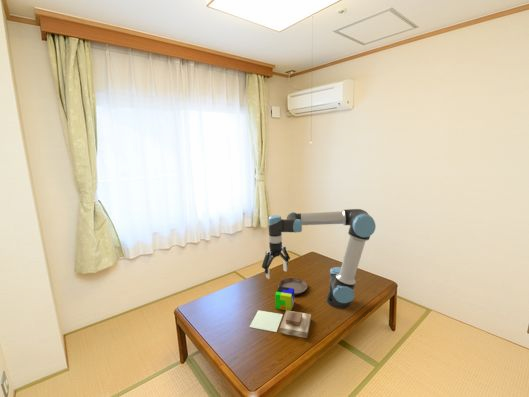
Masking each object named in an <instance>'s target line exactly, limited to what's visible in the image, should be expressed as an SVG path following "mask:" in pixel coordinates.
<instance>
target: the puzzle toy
mask: <svg viewBox="0 0 529 397" xmlns="http://www.w3.org/2000/svg"><path fill="white" fill-rule="evenodd" d="M274 302H275V303H274V304H275V305H274V306H275V309H276V310H282V311H286V310H287V311H292V309H293V307H294V304H295V295H294V289H293V288H287V287H280V286H278V288H277V291H276V292H275V294H274Z"/></svg>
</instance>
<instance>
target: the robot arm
mask: <svg viewBox="0 0 529 397" xmlns="http://www.w3.org/2000/svg"><path fill="white" fill-rule="evenodd" d="M286 216H287V217H286V219H282V216H281V215H277V214H274V215H270V216H269V217H268V240H269V241H268V242H269V243H268V245H269V251H267V250H266V251H265V256H264V258H263V262H262V265H261V268H263V269H264V273H265V278H267V279H268V280H270V279H271V275H270V270H271V269H270V268H269V267H270V266H271V265H272V262H273V260H274V259H275V258H277V257H280V258H281V259H282V260H283V261H282V266H283V268H282V270H283V271H284V272H286V273H287V272H288V262H289V261H290V259H291V257H290V255H289V253H288V251H287V247H286V246H284V245H283V242H282V240H283V239H282V238H283V237H282V236H283V235H282V233H301V232H302V231H303V226H317V225H319V226H320V225H343V226H349V228H348V233H347V234H348V235H349V239H348V243H347V246H346V249H345V252H344V255H343V260H342V262H341V266H334V267H331V268H330V270H329V290H328V292H327V296H326V302H327V304H328V305H329V306H331V307H333V308H337V309H345V308H348V307H350V305H351V304H352V303H351V302H352V301H353V300H354V298H355V291H354V289H355V286H356V283H357V282H356V279H355V277H356V274H357V270H358V267H359V263H360V261H361V258H362V254H363V251H364V247H365V244H366V242H367V241H370V238H371V236H372V235H373V234H374V233H375V231H376V222H375V220H374V218H373V217H372V216H371V215H370V214H369V213H368V212H367V211H366V210H364V209H361V208H349V209H348V208H347V209H343V210H341V211H326V212H325V211H324V212H308V213H307V212H305V213H303V212H302V213H297V212H295V211H293V212H290V213H288V215H286Z"/></svg>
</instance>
